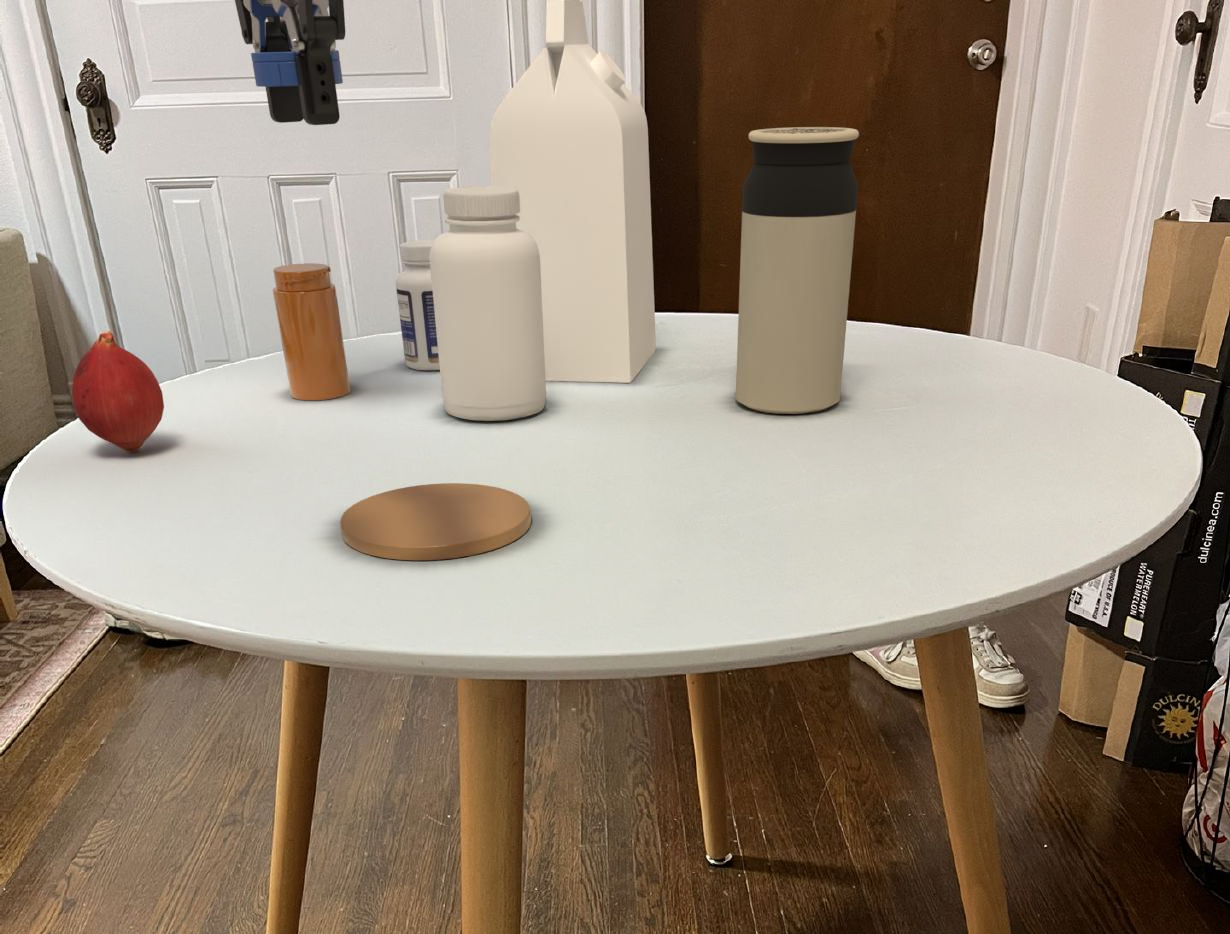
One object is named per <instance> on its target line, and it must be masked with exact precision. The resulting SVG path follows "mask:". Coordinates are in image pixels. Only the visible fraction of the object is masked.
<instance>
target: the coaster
mask: <svg viewBox="0 0 1230 934" xmlns="http://www.w3.org/2000/svg"><path fill="white" fill-rule="evenodd" d="M339 523H340V529H341V536H342V538H343V541H344V542H345V543H346V544H347V545H348V546H349V547H351V548H352V549H354V550H356V551H358V552H360V553H363V554H366V555H369V556H373V557H377V558H383V559H391V560H400V561H438V560H439V561H441V560H448V559H449V560H450V559H458V558H463V557H464V558H465V557H469V556H474V555H478V554H479V555H480V554H483V553H486V552H491V551H493V550H496V549H500V548H502V547H504V546H507V545H509V544H512V543H513V542H514V541H516V540H518V539H520V538H521V537H522V536H524V535H525V534H526V533H527V532H528V530H529V529H530V527H531V524H532V514H531V506H530V504H529V502H528V501H527V500H526V499H525V497H523V496H521V495H519V494H518V493H516V492H514V491H511V490H508V489H505V488H501V487H498V486H497V487H496V486H492V485H484V484H477V483H464V482H463V483H457V482H456V483H455V482H449V483H446V482H445V483H430V484H429V483H428V484H419V485H412V486H406V487H399V488H396V489H395V488H394V489H391V490H387V491H384V492H380V493H377V494H374V495H372V496H368V497H366V498H364V499H362V500H360V501H358V502H356V503H354V504H352V505H351V506H349V507H348V508H347V509H346V510H345V511H344V512H343V513H342V515H341V517H340V521H339Z"/></svg>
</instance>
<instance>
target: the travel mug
mask: <svg viewBox="0 0 1230 934" xmlns="http://www.w3.org/2000/svg"><path fill="white" fill-rule="evenodd" d="M859 136H860V132H859V130H858V129H855V128H850V127H836V126H835V127H834V126H832V127H829V126H802V127H801V126H800V127H799V126H798V127H775V128H774V127H773V128H762V129H755V130H751V131H750V132H748V139H749V141H751V147H752V156H753V165H752V167H751V169H750V171H749V173H748V175H747V177H746V180H745V181H744V184H743V185H742V208H741V210H742V211H741V231H740V232H741V234H740V235H741V236H740V260H739V261H740V262H739V264H740V265H739V291H738V293H739V294H738V316H737V317H738V318H737V319H738V320H737V322H738V323H737V348H736V349H737V351H736V375H735V377H736V378H735V400H736V401H737V402H739V403H740V404H742V405H743V406H745V407H746V408H748V409H750V410H754V411H758V412H760V413H767V414H776V415H803V414H810V413H815V412H821V411H824V410H827V409H829V408H830V407H832V406H834V405H835V404H836V405H837V403H838V402H840V400H841V393H842V383H843V382H842V381H843V371H844V370H843V369H844V357H845V345H846V333H847V322H848V311H849V310H848V309H849V299H850V286H851V276H852V275H851V273H852V264H853V263H852V262H853V252H854V251H853V250H854V239H855V227H856V214H857V204H858V203H857V202H858V192H859V184H858V180H857V177H856V175H855V172H854V170H853V167H852V165H851V162H850V161H851V159H852V155H853V154H852V153H853V149H854V145H855V142H856V140H857V139H858V138H859Z"/></svg>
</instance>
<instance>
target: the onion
mask: <svg viewBox="0 0 1230 934" xmlns="http://www.w3.org/2000/svg"><path fill="white" fill-rule="evenodd" d="M71 396H72V403H73V408H74V410H75V412H76V415H77V418H78V420H79V421H81V423H82V424H83V425H84V427H86V429H87V430H88V431H89V432H90V433H92V434H94V435H96V437H98V438H99V439H101V440H104V441H105V442H108V443H109V444H112V445H114V446H116V447H118V448H120V449H122V450H124V451H126V452H129V453H133V452H138V451H140V450H141V448H142V447H143V446H144V444H145V443H146V441H147V440H148V439H149V438H150V436H151V435H152V434H153V432H155V431H156V429H157V427H158V425H160V423H161V421H162V419H163V415H164V409H165V403H164V402H165V401H164V395H163V390H162V388H161V386H160V383H159V381H158V379H157V377H156V375H155V374H154V372H153V371H152V369H150V367H149V366H148V365H147V364H146V363H145V362H144V361H143V360H142V359H141V358H139V357H138V356H136V355H135V354H133V353H132V352H130V351H129V350H127V349H125V348H123V347H121V346H119V345H117V343H116V340H115V336H114V334H113V333H112V331H111V330H107V331H106V330H104V331H102V332H100V333H99V335H98V338H97V339H96V340H95V342H94V343H93V344H92V346H91V347H90V348H89V349H88V350H87V351H86V353H84V355H83V356H82V357H81V359H80V361H79V362H78V363H77V366H76V368H75V370H74V374H73V377H72V388H71Z"/></svg>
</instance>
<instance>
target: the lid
mask: <svg viewBox="0 0 1230 934" xmlns="http://www.w3.org/2000/svg"><path fill="white" fill-rule="evenodd" d="M330 55H331V56H332V63H333V71H334V78H335V85H341V84H343V82H344V79H343V74H342V65H341V60H340V58H341V57H340V51H339V50H338V49H335V52H334V53H330ZM250 56H251V62H252V69H253V76H254V80H255V86H256V87H261V88H262V87H263V88H266V87H279V86H298V80H297V73H296V66H295V60H294V56H301V54H296V53H295V52H294V51H293V52H261V53H256V52H251V53H250Z"/></svg>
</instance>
